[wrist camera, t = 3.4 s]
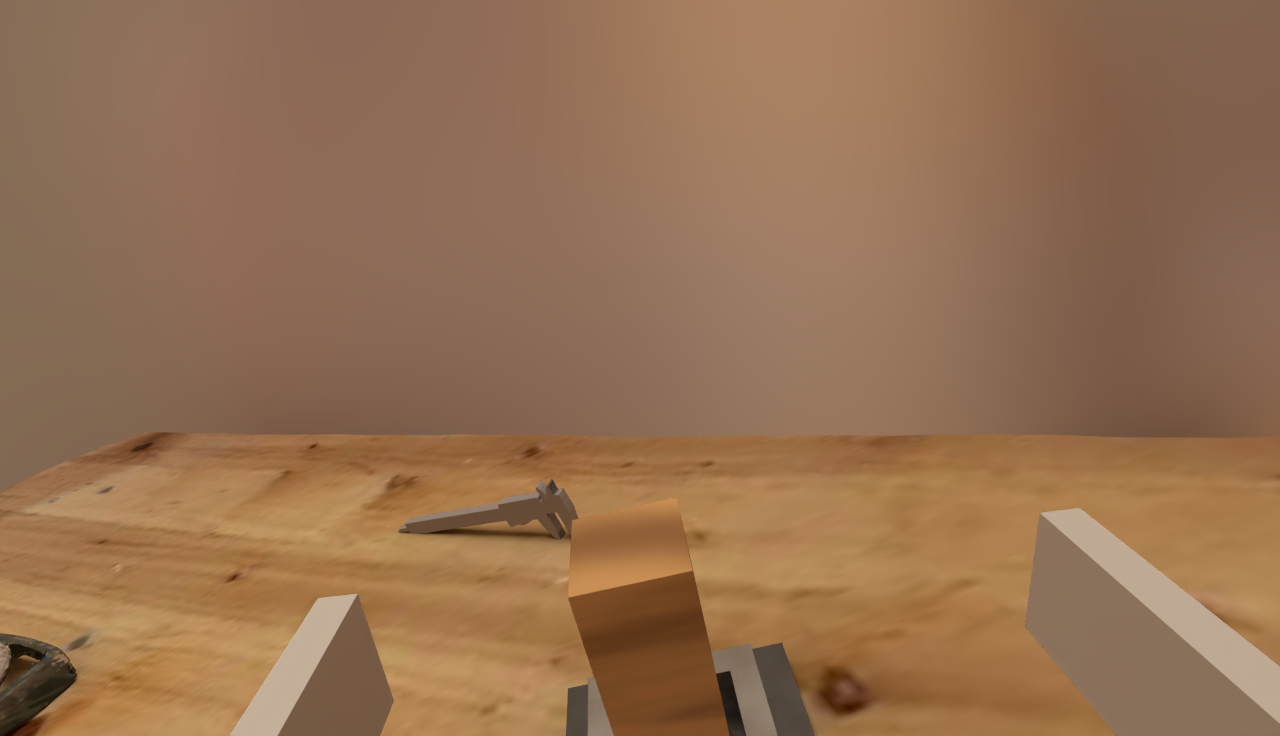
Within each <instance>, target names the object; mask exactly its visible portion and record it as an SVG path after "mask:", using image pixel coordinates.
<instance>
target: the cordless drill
mask: <svg viewBox="0 0 1280 736" xmlns="http://www.w3.org/2000/svg"><path fill="white" fill-rule="evenodd" d="M22 655H27V656H30V657H32V658H35V659H37V660H40V661H39V662H38V663H33V662H32V663H31V667H32V668H31V669H29V670H28V671H27V672H26V673H25V674H24V675H22V676H21V677H20V678H19V679H18V680H16V681H15V682H14V683H13V684H11V685H10V686H9V687H8V688H7V689H5V690H4V691H3V692H2V693H1V694H0V736H2V735H3V734H5V733H7V732H8V731H10V730H11V729H13V728H15V727H16V726H18V725H19V724H21V723H22V722H24V721H26V720H27V719H29V718H30V717H32V716H33V715H35V714H36V713H37V712H38V711H40V710H42V709H44V708H46V706H47V705H48V703H49V702H51V701H52V700H53V699H54V698H55V697H56V696H57V695H59V694H60V693H62V692H63V691H64V690H66V689H67V688H68V687H69V686H70V685H71V684H72V683H73V681H74V679H75V678H76V677H77V675H76V674H73V673H75V672H76V670H75V668H74V667H73V666H72V664H71V663H70V660H69V658H68V657H67V656H66V655H65V653H64V652H63V650H62V649H59V648H57V647H55V646H52V645H50V644H47V643H44V642H41V641H38V640H35V639H31V638H27V637H22V636H16V635H10V634H1V633H0V686H1V684H2V683H3V681H4V679H5V677H6V675H7V673H8V672H9V670H10V664H11V661H12V658H17V657H20V656H22ZM69 672H70V673H72V674H70V673H69Z"/></svg>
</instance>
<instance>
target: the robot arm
mask: <svg viewBox="0 0 1280 736" xmlns="http://www.w3.org/2000/svg"><path fill="white" fill-rule="evenodd" d="M1025 627H1026V628H1027V630H1028V631H1029V632H1030V633H1031V634H1032V636H1033V637H1034V638H1035V639H1036V640H1037V641H1038V643H1039V644H1040V645H1041V646H1042V647H1043V649H1044V650H1045V651H1046V652H1047V653H1048V655H1049V656H1050V657H1051V658H1052V659H1053V660H1054V662H1055V663H1056V664H1057V665H1058V666H1059V668H1060V669H1061V670H1062V671H1063V672H1064V674H1065V675H1066V676H1067V677H1068V678H1069V679H1070V681H1071V682H1072V683H1073V684H1074V685H1075V687H1076V688H1077V689H1078V690H1079V691H1080V693H1081V694H1082V695H1083V696H1084V697H1085V698H1086V700H1087V701H1088V702H1089V703H1090V704H1091V706H1092V707H1093V708H1094V709H1095V710H1096V712H1097V713H1098V714H1099V715H1100V716H1101V717H1102V719H1103V720H1104V721H1105V722H1106V723H1107V725H1108V726H1109V727H1110V728H1111V729H1112V731H1113V732H1114V733H1115V734H1116V735H1117V736H1280V667H1279V666H1278V665H1277V664H1276V663H1274V662H1273V661H1272V660H1271V659H1269V658H1268V657H1267V656H1266V655H1264V654H1263V653H1262V652H1261V651H1259V650H1258V649H1257V648H1256V647H1254V646H1253V645H1252V644H1250V643H1249V642H1248V641H1247V640H1245V639H1244V638H1243V637H1242V636H1240V635H1239V634H1238V633H1237V632H1235V631H1234V630H1233V629H1232V628H1230V627H1229V626H1228V625H1227V624H1225V623H1224V622H1223V621H1221V620H1220V619H1219V618H1218V617H1216V616H1215V615H1214V614H1213V613H1211V612H1210V611H1209V610H1208V609H1206V608H1205V607H1204V606H1203V605H1201V604H1200V603H1199V602H1198V601H1196V600H1195V599H1194V598H1192V597H1191V596H1190V595H1189V594H1187V593H1186V592H1185V591H1184V590H1182V589H1181V588H1180V587H1179V586H1177V585H1176V584H1175V583H1174V582H1172V581H1171V580H1170V579H1169V578H1167V577H1166V576H1165V575H1163V574H1162V573H1161V572H1160V571H1158V570H1157V569H1156V568H1155V567H1153V566H1152V565H1151V564H1150V563H1148V562H1147V561H1146V560H1145V559H1143V558H1142V557H1141V556H1140V555H1138V554H1137V553H1136V552H1134V551H1133V550H1132V549H1131V548H1129V547H1128V546H1127V545H1126V544H1124V543H1123V542H1122V541H1121V540H1119V539H1118V538H1117V537H1116V536H1114V535H1113V534H1112V533H1111V532H1109V531H1108V530H1107V529H1105V528H1104V527H1103V526H1102V525H1100V524H1099V523H1098V522H1097V521H1095V520H1094V519H1093V518H1092V517H1090V516H1089V515H1088V514H1087V513H1085V512H1084V511H1083V510H1082V509H1080V508H1077V509H1068V510H1060V511H1052V512H1043V513H1040V516H1039V523H1038V531H1037V538H1036V546H1035V553H1034V561H1033V568H1032V576H1031V583H1030V591H1029V598H1028V606H1027V613H1026V621H1025ZM393 701H394V700H393V697H392V694H391V691H390V688H389V685H388V682H387V679H386V676H385V673H384V670H383V667H382V664H381V661H380V658H379V655H378V652H377V649H376V646H375V643H374V640H373V637H372V635H371V632H370V629H369V626H368V623H367V620H366V617H365V614H364V611H363V608H362V605H361V602H360V599H359V596H358V594H350V595H342V596H334V597H325V598H318V599H317V601H316V602H315V604H314V605H313V607H312V608H311V610H310V612H309V613H308V615H307V616H306V618H305V619H304V621H303V622H302V624H301V626H300V627H299V629H298V630H297V632H296V633H295V635H294V636H293V638H292V639H291V641H290V643H289V644H288V646H287V647H286V649H285V650H284V652H283V653H282V655H281V657H280V658H279V660H278V661H277V663H276V664H275V666H274V667H273V669H272V670H271V672H270V674H269V675H268V677H267V678H266V680H265V681H264V683H263V684H262V686H261V687H260V689H259V691H258V692H257V694H256V695H255V697H254V698H253V700H252V701H251V703H250V705H249V706H248V708H247V709H246V711H245V712H244V714H243V715H242V717H241V718H240V720H239V722H238V723H237V725H236V726H235V728H234V729H233V731H232V732H231V734H230V736H380V735H381V732H382V729H383V727H384V724H385V722H386V719H387V717H388V714H389V712H390V709H391V707H392V704H393Z"/></svg>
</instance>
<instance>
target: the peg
mask: <svg viewBox="0 0 1280 736" xmlns="http://www.w3.org/2000/svg"><path fill="white" fill-rule="evenodd" d="M568 599H569V602H570V605H571V608H572V611H573V614H574V617H575V620H576V623H577V626H578V629H579V632H580V635H581V638H582V641H583V644H584V647H585V650H586V653H587V656H588V659H589V662H590V666H591V669H592V672H593V675H594V678H595V681H596V684H597V687H598V690H599V693H600V696H601V699H602V702H603V705H604V708H605V711H606V714H607V717H608V720H609V723H610V726H611V729H612V732H613V735H614V736H730V734H729V729H728V725H727V720H726V716H725V711H724V707H723V702H722V698H721V693H720V689H719V685H718V680H717V676H716V671H715V667H714V662H713V658H712V653H711V649H710V644H709V640H708V635H707V631H706V626H705V622H704V617H703V613H702V608H701V604H700V600H699V595H698V591H697V586H696V582H695V577H694V573H693V568H692V564H691V559H690V555H689V550H688V546H687V541H686V537H685V532H684V528H683V523H682V519H681V514H680V510H679V506H678V501H677V498H672V499H668V500H663V501H658V502H654V503H649V504H645V505H640V506H636V507H631V508H626V509H622V510H617V511H613V512H608V513H603V514H599V515H594V516H590V517H585V518H581V519H576V520H572V531H571V550H570V569H569V588H568Z"/></svg>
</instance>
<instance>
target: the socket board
mask: <svg viewBox="0 0 1280 736" xmlns="http://www.w3.org/2000/svg"><path fill="white" fill-rule="evenodd" d="M711 653H712V658H713V662H714V667H715V671H716V676H717V680H718V685H719V689H720V693H721V698H722V702H723V707H724V711H725V716H726V720H727V725H728V729H729V734H730V736H815V735H814V732H813V729H812V726H811V724H810V721H809V718H808V715H807V712H806V710H805V707H804V704H803V701H802V698H801V695H800V693H799V690H798V687H797V684H796V681H795V679H794V676H793V673H792V670H791V667H790V665H789V662H788V659H787V656H786V653H785V650H784V648H783V645H782V643H779V644H774V645H769V646H765V647H760V648H755V649H752V647H751V644H746V645H741V646H737V647H732V648H727V649H723V650H718V651H713V652H711ZM566 736H614V735H613V732H612V729H611V726H610V723H609V720H608V717H607V714H606V711H605V708H604V705H603V702H602V699H601V696H600V693H599V690H598V687H597V684H596V681H595V678H594V677H592V678H588V684H587V685H582V686H578V687H573V688H568V704H567V726H566Z"/></svg>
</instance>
